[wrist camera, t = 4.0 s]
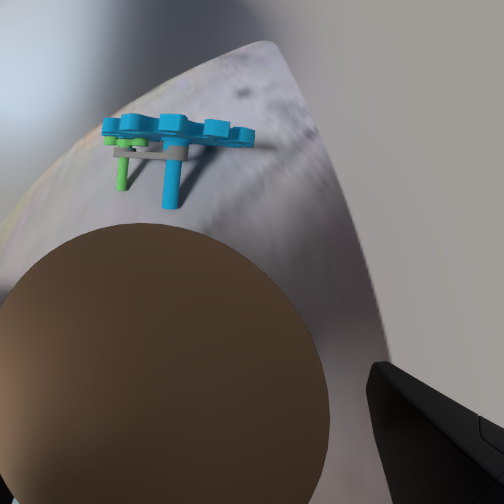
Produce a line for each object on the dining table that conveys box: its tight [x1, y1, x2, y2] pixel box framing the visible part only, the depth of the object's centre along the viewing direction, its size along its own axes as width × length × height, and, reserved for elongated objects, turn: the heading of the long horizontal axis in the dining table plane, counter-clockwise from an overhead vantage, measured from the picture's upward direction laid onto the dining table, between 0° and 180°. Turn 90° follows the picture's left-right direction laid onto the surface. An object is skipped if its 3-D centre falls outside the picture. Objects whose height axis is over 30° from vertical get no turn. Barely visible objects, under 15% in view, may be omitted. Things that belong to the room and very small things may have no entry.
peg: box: [0, 223, 330, 504], centre depth 8 cm, size 4×4×12 cm
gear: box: [101, 113, 255, 209], centre depth 18 cm, size 11×6×10 cm
